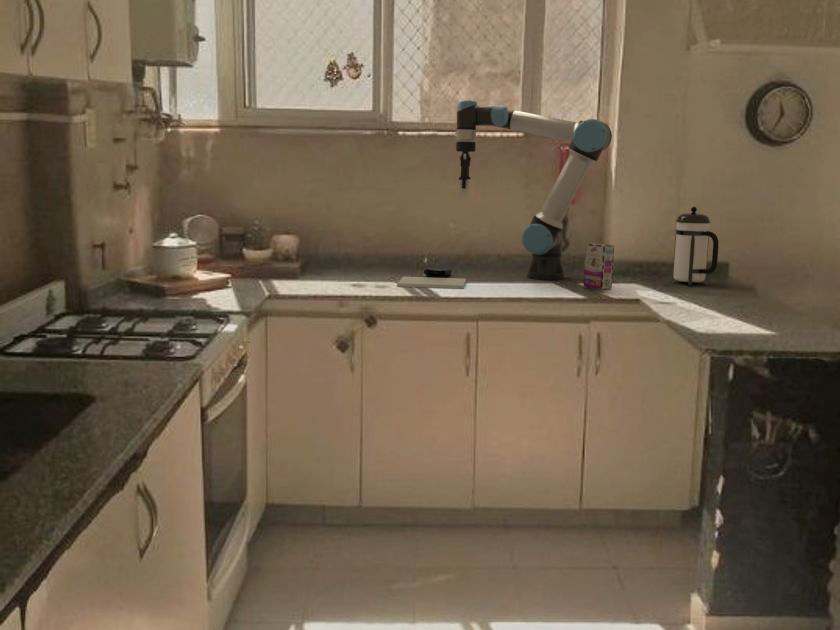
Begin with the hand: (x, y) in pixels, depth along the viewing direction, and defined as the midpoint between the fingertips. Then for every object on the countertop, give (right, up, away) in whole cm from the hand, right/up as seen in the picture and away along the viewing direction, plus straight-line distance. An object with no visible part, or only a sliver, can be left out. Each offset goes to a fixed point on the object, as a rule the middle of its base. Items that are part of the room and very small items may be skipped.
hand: (464, 196), depth 356 cm
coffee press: (+89, -34, 0) cm, 95 cm away
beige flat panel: (-13, -35, -16) cm, 40 cm away
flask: (-11, -33, +2) cm, 34 cm away
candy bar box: (+48, -36, -18) cm, 63 cm away
